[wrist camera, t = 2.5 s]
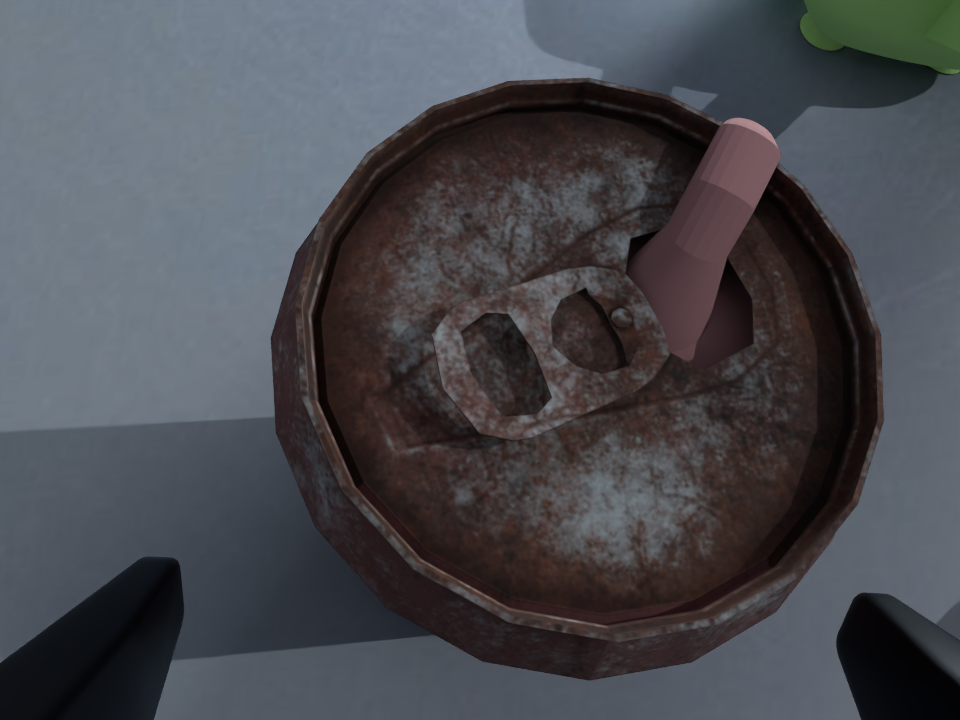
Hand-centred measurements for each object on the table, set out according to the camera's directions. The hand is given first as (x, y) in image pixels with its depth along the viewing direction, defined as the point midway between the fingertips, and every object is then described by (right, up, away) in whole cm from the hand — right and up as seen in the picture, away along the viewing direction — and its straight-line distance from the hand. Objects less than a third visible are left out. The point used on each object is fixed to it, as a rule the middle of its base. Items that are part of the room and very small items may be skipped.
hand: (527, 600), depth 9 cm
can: (-1, -1, +10) cm, 10 cm away
